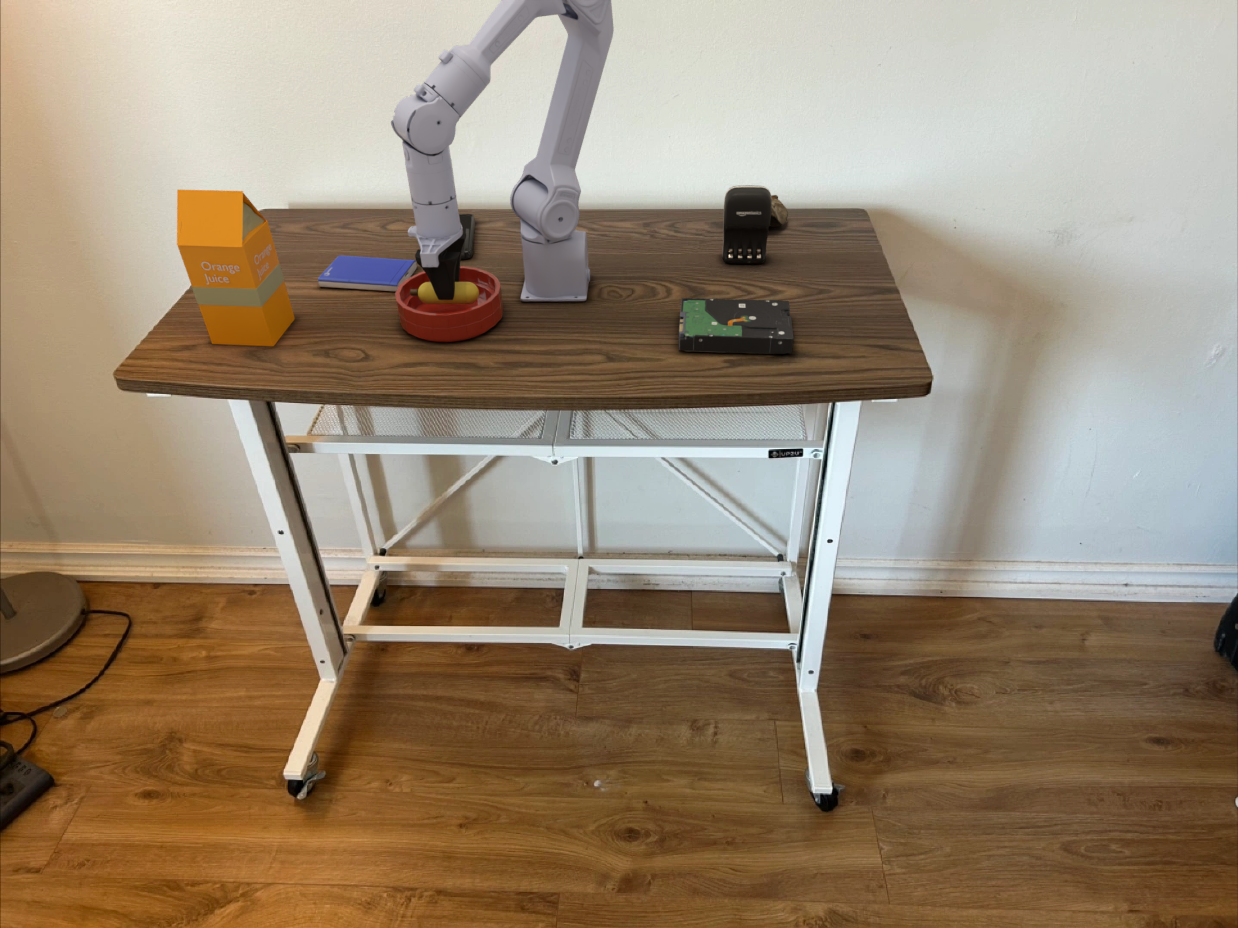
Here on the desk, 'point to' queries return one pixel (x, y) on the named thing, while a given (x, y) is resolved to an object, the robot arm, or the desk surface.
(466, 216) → the phone
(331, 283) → the blue book
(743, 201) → the battery charger
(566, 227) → the robot arm
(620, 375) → the desk surface
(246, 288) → the orange juice
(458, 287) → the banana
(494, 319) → the bowl
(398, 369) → the desk surface
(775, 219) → the fossilized seashell
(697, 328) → the disk drive
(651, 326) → the desk surface
